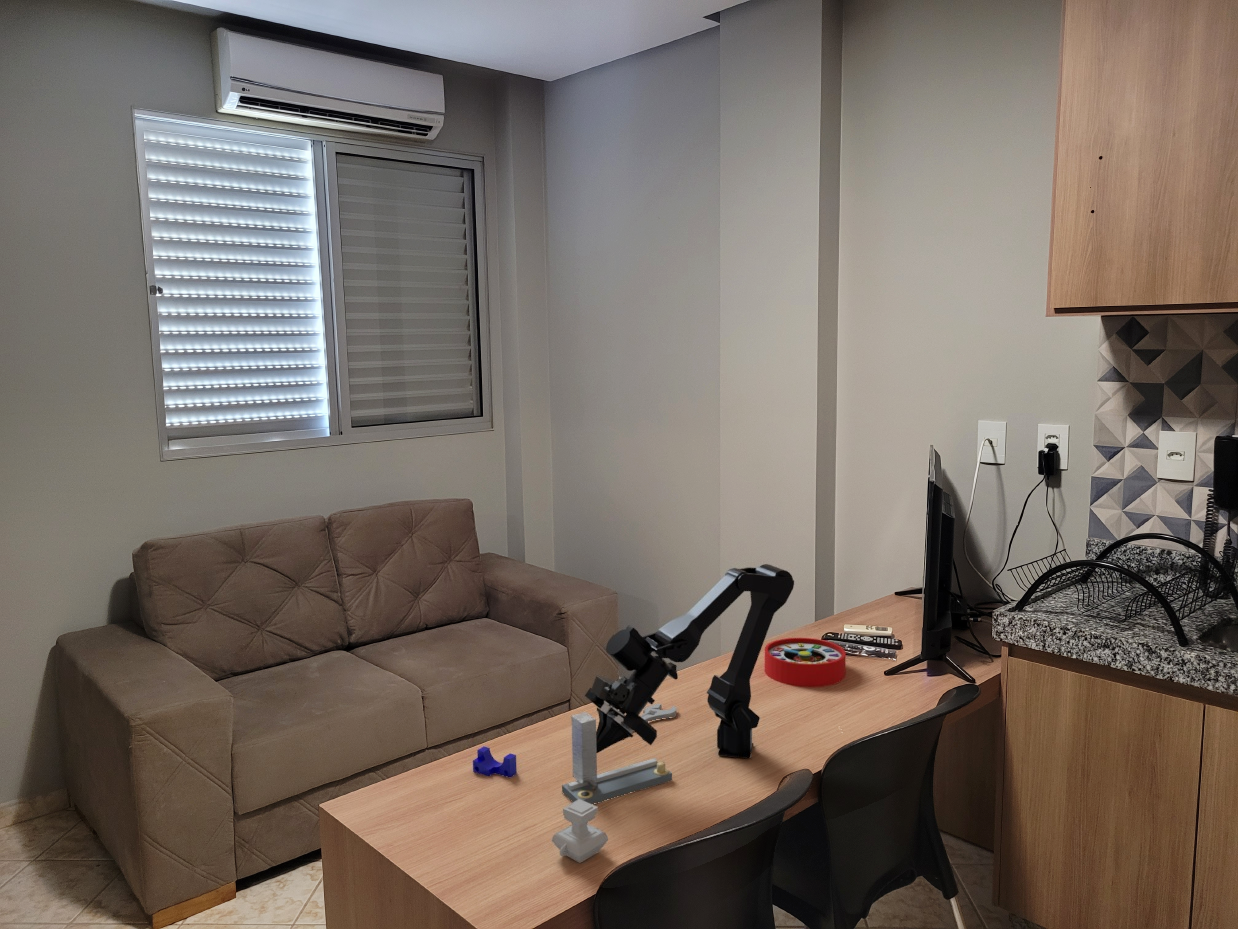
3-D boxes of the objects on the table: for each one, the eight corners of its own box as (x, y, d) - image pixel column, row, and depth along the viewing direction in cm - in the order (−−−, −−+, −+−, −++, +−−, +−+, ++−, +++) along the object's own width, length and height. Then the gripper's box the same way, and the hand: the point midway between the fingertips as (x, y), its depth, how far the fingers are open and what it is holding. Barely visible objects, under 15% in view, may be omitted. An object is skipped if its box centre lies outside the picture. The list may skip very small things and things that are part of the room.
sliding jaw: (587, 775, 170) (585, 712, 168) (603, 789, 164) (602, 724, 162) (573, 779, 168) (571, 715, 166) (589, 793, 163) (587, 728, 161)
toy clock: (826, 670, 211) (750, 654, 223) (826, 694, 212) (750, 677, 224) (857, 646, 227) (785, 632, 239) (857, 668, 228) (785, 654, 240)
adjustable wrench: (595, 750, 185) (594, 742, 185) (576, 741, 190) (575, 733, 190) (681, 715, 201) (680, 708, 201) (661, 707, 206) (661, 700, 206)
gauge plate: (652, 766, 177) (652, 751, 177) (672, 780, 171) (672, 765, 171) (562, 792, 167) (561, 777, 167) (579, 809, 161) (579, 792, 161)
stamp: (585, 835, 152) (584, 789, 151) (613, 850, 148) (613, 802, 147) (546, 858, 146) (545, 810, 145) (574, 874, 141) (573, 824, 140)
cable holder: (473, 772, 176) (472, 753, 175) (484, 765, 179) (483, 746, 178) (505, 782, 172) (505, 762, 171) (516, 774, 175) (516, 755, 174)
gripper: (592, 646, 176) (543, 712, 172) (642, 676, 160) (589, 749, 156) (627, 677, 181) (580, 741, 177) (679, 709, 165) (628, 781, 161)
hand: (592, 752), depth 167 cm, fingers closed, pressing on sliding jaw
